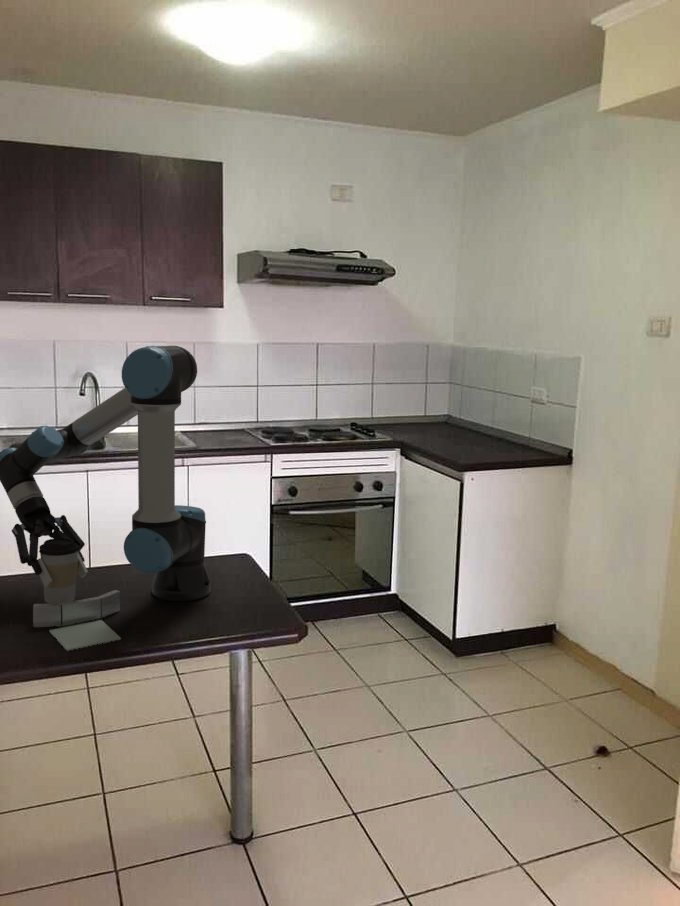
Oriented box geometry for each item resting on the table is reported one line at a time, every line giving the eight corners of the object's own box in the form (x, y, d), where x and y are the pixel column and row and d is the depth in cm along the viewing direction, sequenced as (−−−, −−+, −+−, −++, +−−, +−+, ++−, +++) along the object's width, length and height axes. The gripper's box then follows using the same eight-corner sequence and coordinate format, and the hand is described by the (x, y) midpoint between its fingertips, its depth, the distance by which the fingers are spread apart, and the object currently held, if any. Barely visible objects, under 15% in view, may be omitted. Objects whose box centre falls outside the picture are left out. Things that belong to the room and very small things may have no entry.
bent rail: (117, 608, 189) (117, 589, 188) (124, 614, 186) (124, 594, 185) (31, 625, 176) (31, 604, 176) (36, 631, 173) (36, 610, 172)
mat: (101, 621, 181) (101, 619, 181) (120, 639, 171) (120, 637, 171) (49, 631, 173) (49, 630, 173) (66, 651, 164) (66, 649, 164)
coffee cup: (46, 592, 192) (45, 534, 190) (83, 592, 193) (82, 535, 190) (35, 605, 183) (33, 545, 181) (73, 606, 184) (72, 546, 182)
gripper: (62, 505, 203) (98, 576, 196) (-18, 519, 186) (19, 598, 179) (73, 489, 199) (111, 561, 192) (-8, 502, 181) (31, 582, 175)
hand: (67, 579), depth 185 cm, fingers closed on coffee cup, 9 cm apart
